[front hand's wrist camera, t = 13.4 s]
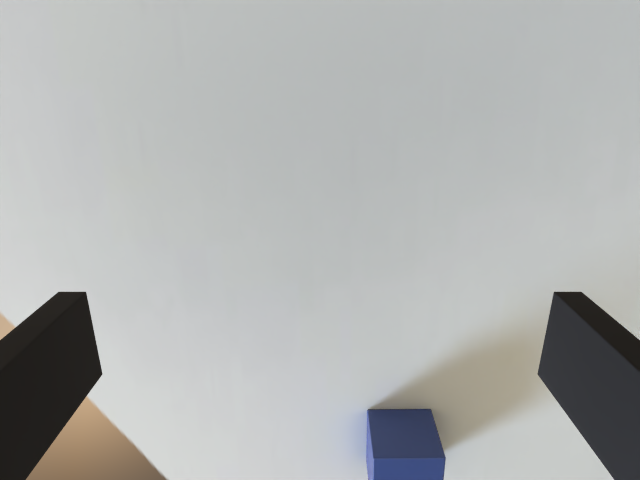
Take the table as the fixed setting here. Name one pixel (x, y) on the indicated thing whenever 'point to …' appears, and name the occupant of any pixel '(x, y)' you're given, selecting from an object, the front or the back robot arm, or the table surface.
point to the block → (403, 445)
